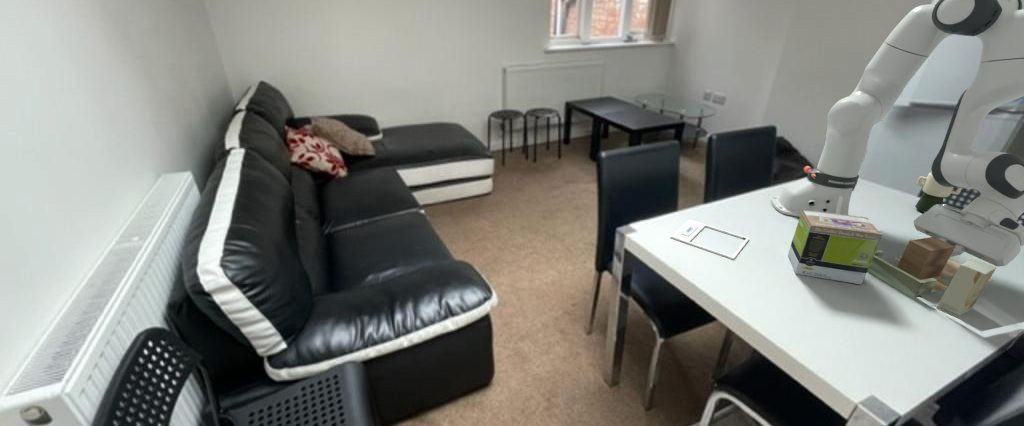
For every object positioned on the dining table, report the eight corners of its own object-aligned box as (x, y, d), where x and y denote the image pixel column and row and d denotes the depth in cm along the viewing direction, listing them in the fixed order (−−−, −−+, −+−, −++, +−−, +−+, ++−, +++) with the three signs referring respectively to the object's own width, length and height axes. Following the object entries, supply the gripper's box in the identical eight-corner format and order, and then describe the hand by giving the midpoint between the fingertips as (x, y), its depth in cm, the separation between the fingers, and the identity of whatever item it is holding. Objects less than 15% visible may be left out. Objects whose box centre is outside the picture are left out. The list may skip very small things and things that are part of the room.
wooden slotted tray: (932, 254, 123) (939, 240, 121) (991, 283, 111) (1000, 268, 109) (859, 266, 118) (865, 252, 116) (913, 298, 106) (921, 282, 104)
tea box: (848, 265, 118) (869, 216, 112) (861, 286, 110) (884, 235, 103) (786, 255, 123) (802, 207, 116) (793, 274, 114) (812, 224, 107)
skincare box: (958, 319, 99) (985, 274, 93) (934, 308, 102) (959, 264, 97) (971, 311, 102) (998, 267, 96) (947, 300, 105) (972, 257, 99)
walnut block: (918, 266, 116) (933, 236, 112) (939, 276, 112) (955, 246, 108) (895, 270, 114) (909, 240, 110) (915, 281, 110) (930, 250, 106)
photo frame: (689, 218, 140) (749, 237, 130) (688, 221, 141) (748, 240, 130) (670, 235, 130) (734, 257, 120) (670, 238, 131) (733, 261, 120)
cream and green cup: (948, 213, 147) (967, 177, 141) (945, 220, 142) (965, 183, 137) (907, 203, 154) (923, 168, 148) (903, 209, 150) (920, 173, 144)
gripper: (936, 194, 118) (893, 230, 120) (1033, 231, 100) (981, 272, 102) (941, 208, 121) (899, 243, 123) (1036, 245, 103) (985, 285, 105)
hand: (937, 256), depth 112 cm, fingers closed
